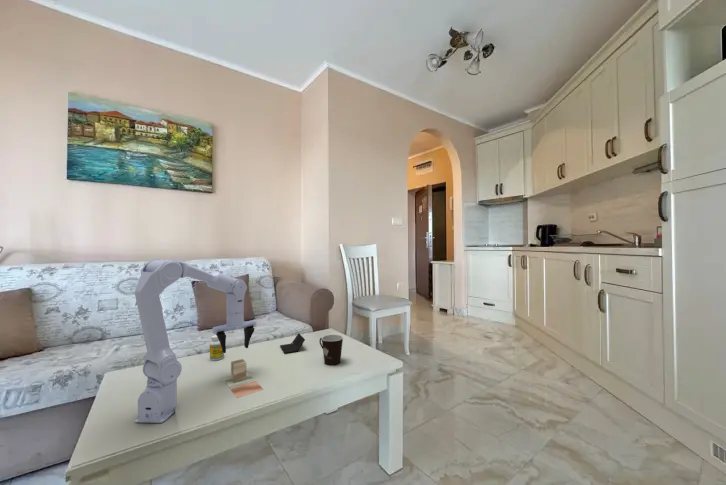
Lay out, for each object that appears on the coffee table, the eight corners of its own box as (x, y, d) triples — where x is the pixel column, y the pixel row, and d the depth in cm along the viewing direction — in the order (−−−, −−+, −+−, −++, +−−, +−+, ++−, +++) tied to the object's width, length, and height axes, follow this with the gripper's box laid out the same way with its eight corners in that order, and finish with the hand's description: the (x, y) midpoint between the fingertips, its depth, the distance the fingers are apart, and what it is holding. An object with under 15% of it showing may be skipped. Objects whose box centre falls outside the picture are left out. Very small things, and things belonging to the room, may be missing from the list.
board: (266, 393, 98) (266, 389, 98) (234, 403, 91) (234, 399, 91) (249, 374, 112) (249, 371, 112) (220, 382, 106) (220, 378, 106)
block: (246, 379, 105) (246, 362, 105) (234, 382, 102) (234, 365, 102) (242, 375, 108) (242, 358, 108) (231, 378, 105) (231, 361, 105)
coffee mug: (345, 364, 120) (345, 339, 120) (324, 368, 117) (324, 342, 117) (337, 354, 131) (337, 331, 131) (317, 357, 128) (317, 334, 128)
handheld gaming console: (275, 344, 140) (289, 326, 142) (286, 350, 144) (299, 332, 146) (284, 355, 130) (298, 335, 133) (296, 362, 134) (309, 342, 137)
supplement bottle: (222, 355, 131) (222, 333, 131) (224, 359, 127) (224, 336, 127) (209, 357, 128) (208, 335, 128) (210, 362, 124) (210, 338, 124)
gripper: (215, 317, 101) (216, 357, 101) (259, 311, 109) (259, 348, 109) (211, 313, 106) (211, 352, 106) (252, 307, 115) (253, 343, 115)
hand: (235, 349), depth 108 cm, fingers open, 7 cm apart
